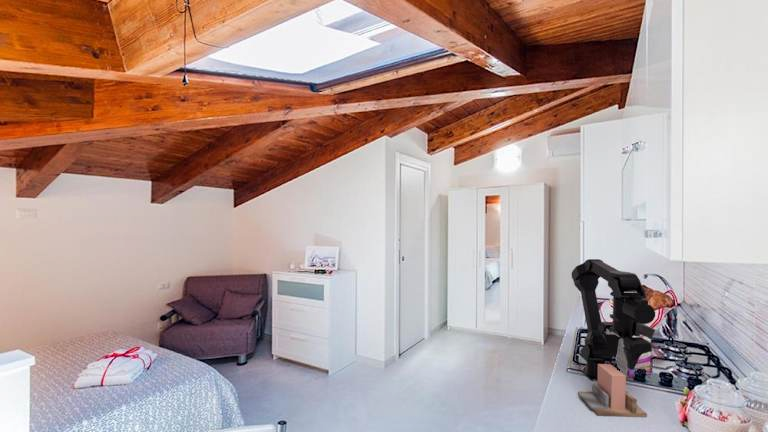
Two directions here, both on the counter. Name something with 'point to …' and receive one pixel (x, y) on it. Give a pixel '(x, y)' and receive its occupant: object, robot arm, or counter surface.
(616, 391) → the pink rectangular block
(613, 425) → the counter surface
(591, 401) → the book rack
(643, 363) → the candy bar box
